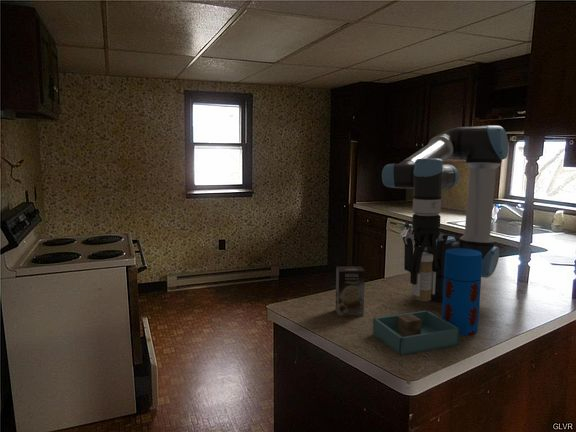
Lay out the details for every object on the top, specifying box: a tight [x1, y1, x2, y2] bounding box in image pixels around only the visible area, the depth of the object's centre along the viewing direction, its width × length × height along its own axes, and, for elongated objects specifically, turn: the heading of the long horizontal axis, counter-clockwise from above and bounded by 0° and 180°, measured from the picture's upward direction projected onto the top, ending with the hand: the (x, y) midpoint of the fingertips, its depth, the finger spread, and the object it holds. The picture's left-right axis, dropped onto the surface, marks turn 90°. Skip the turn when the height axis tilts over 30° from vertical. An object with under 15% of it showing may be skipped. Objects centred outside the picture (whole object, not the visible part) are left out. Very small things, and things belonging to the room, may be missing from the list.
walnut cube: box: [397, 314, 421, 337], centre depth 132 cm, size 5×5×5 cm
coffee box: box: [335, 266, 366, 317], centre depth 150 cm, size 9×6×16 cm
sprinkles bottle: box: [414, 252, 433, 302], centre depth 123 cm, size 5×5×13 cm
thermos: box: [441, 248, 482, 336], centre depth 135 cm, size 11×11×25 cm
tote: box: [372, 310, 461, 356], centre depth 129 cm, size 20×16×5 cm
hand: (423, 293), depth 124 cm, fingers closed on sprinkles bottle, 4 cm apart
